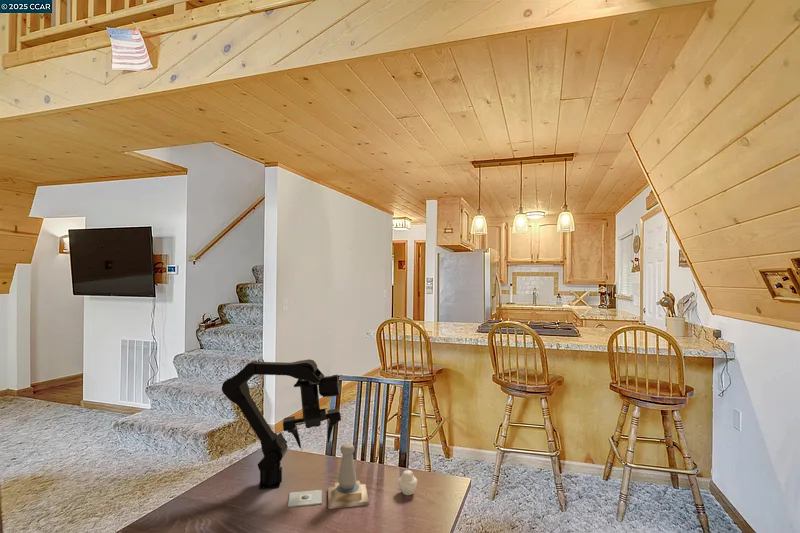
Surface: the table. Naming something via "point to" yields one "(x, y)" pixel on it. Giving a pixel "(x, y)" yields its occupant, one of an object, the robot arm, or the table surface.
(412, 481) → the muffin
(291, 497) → the pale grey rectangular tile
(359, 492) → the foundation
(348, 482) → the beige mushroom knob
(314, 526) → the table surface
